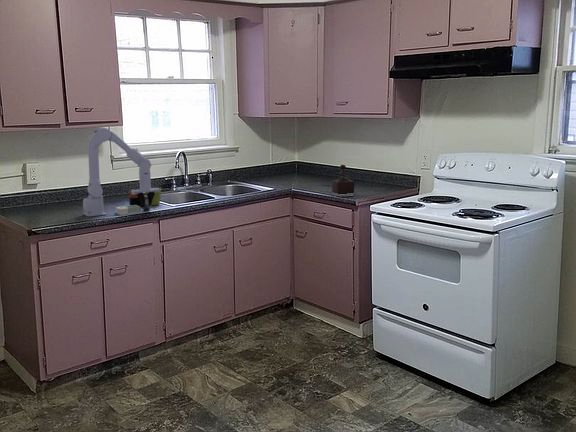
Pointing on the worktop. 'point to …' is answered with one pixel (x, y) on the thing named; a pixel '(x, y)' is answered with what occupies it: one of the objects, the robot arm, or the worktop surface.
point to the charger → (128, 210)
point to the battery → (134, 199)
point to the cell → (146, 204)
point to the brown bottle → (342, 183)
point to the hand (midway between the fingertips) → (146, 206)
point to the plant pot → (156, 197)
